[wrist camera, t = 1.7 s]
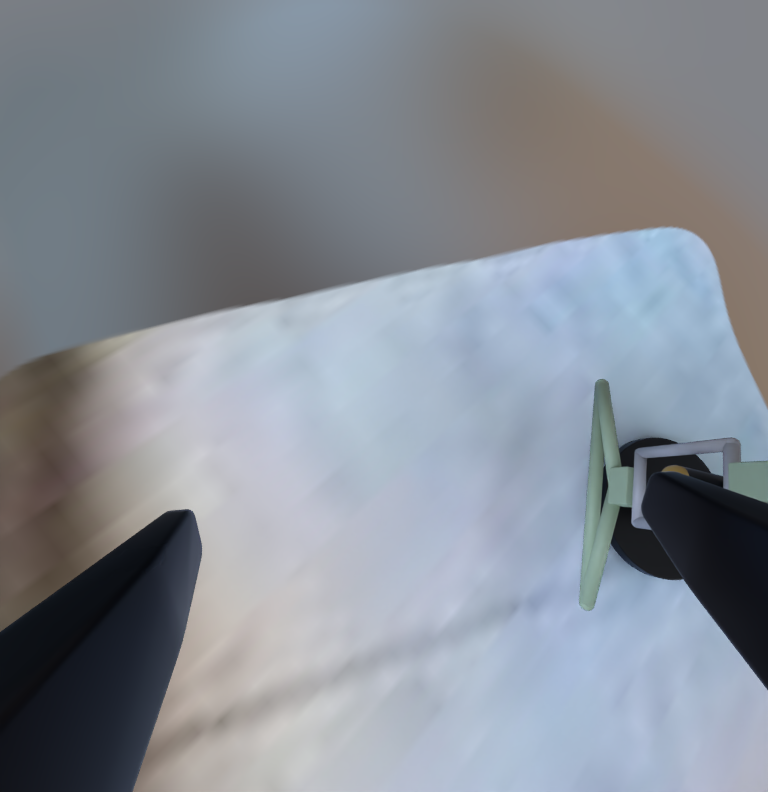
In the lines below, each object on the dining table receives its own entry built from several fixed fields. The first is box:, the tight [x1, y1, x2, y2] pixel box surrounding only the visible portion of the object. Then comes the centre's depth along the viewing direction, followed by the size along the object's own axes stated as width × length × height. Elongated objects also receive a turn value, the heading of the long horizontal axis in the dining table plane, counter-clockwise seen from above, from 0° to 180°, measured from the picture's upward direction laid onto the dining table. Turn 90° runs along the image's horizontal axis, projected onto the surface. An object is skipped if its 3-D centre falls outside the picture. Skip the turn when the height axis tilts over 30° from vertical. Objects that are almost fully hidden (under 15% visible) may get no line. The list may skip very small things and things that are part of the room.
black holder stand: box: [600, 438, 723, 580], centre depth 20 cm, size 8×12×9 cm
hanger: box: [579, 379, 768, 611], centre depth 17 cm, size 1×12×11 cm, turn 167°
